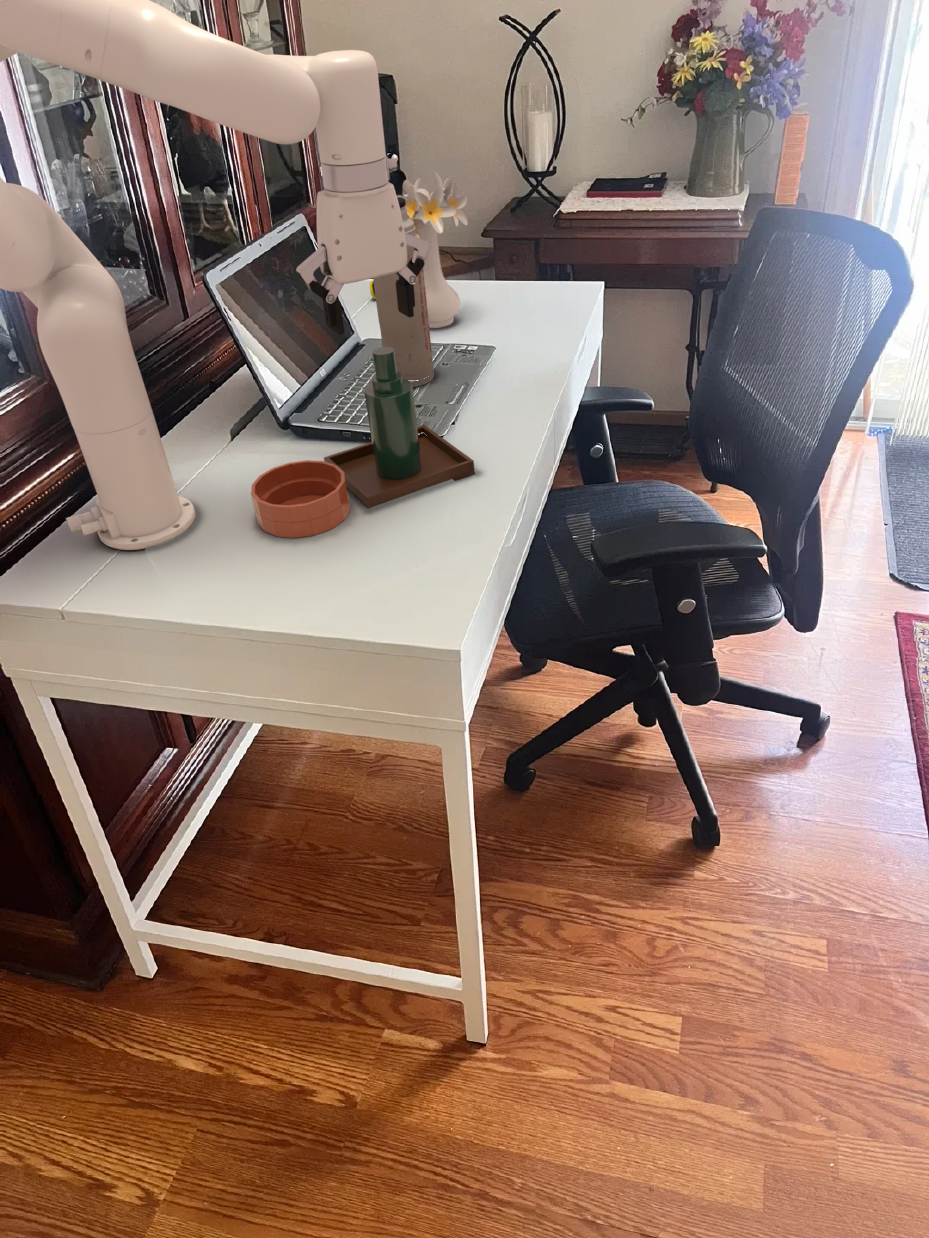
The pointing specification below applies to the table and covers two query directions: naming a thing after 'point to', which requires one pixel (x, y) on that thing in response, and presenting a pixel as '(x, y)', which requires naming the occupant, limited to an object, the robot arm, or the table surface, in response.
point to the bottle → (392, 419)
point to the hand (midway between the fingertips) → (372, 323)
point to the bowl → (300, 498)
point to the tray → (436, 468)
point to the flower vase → (435, 242)
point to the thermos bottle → (406, 320)
